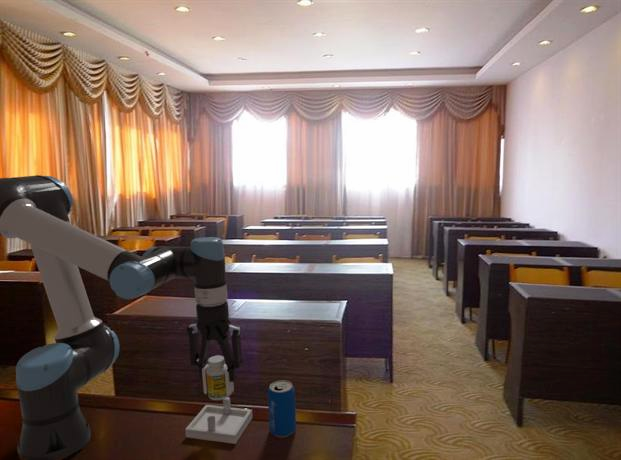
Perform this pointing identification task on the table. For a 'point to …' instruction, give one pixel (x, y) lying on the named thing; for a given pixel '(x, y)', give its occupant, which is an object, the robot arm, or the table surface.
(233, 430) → the tray
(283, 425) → the beverage can
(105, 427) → the table surface
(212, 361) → the supplement bottle
